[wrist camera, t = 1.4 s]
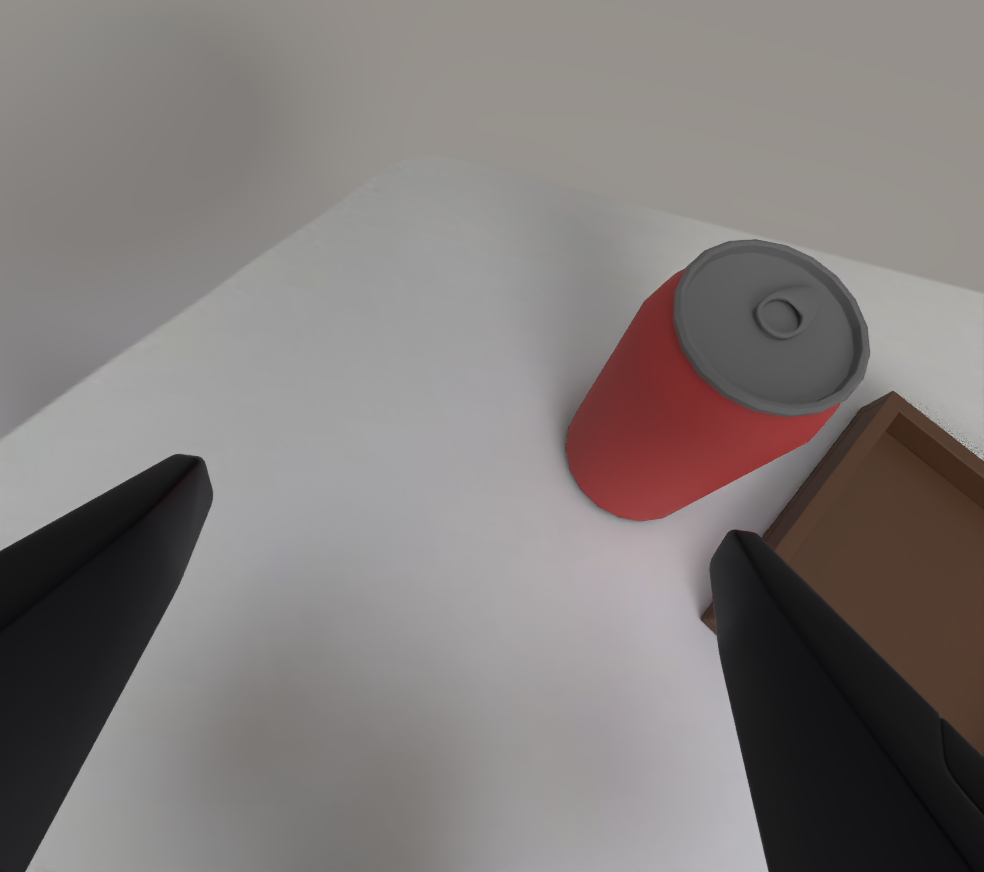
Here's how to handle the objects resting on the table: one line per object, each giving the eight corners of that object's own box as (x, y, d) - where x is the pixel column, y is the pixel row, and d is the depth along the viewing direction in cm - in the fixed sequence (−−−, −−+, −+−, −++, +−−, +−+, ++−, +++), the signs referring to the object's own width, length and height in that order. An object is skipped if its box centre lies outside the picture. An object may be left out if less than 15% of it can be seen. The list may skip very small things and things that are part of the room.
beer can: (724, 473, 26) (938, 351, 15) (623, 552, 24) (779, 481, 13) (636, 370, 28) (771, 189, 16) (535, 437, 26) (608, 286, 15)
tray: (970, 875, 21) (1025, 900, 19) (699, 618, 24) (723, 617, 22) (1101, 598, 26) (1156, 595, 24) (861, 407, 28) (893, 390, 26)
